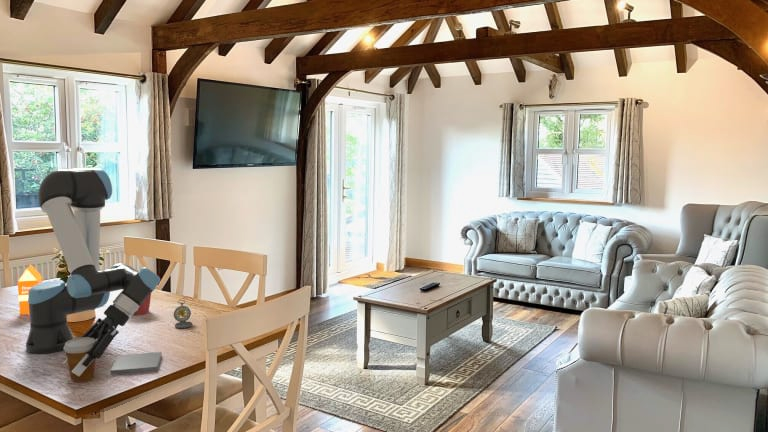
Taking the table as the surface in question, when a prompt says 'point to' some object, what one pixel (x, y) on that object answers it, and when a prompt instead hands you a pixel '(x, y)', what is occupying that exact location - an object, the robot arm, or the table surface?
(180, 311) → the pocket watch
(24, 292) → the orange juice
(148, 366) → the slate tile
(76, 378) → the disposable coffee cup
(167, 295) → the table surface
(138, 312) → the flower pot
